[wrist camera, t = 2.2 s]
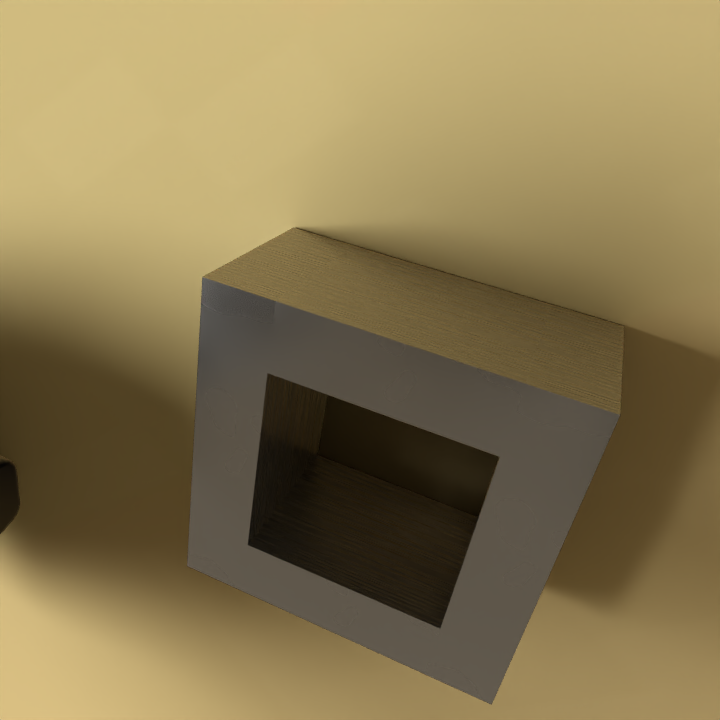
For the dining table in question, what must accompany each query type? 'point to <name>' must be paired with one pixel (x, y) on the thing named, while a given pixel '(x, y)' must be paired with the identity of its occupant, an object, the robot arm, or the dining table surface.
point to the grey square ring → (412, 406)
